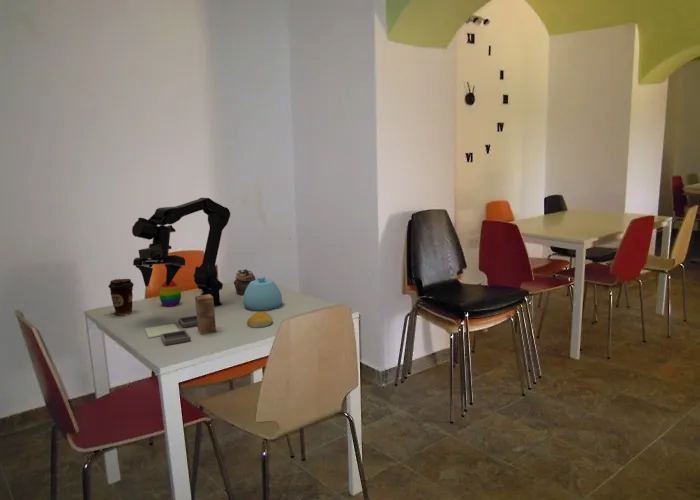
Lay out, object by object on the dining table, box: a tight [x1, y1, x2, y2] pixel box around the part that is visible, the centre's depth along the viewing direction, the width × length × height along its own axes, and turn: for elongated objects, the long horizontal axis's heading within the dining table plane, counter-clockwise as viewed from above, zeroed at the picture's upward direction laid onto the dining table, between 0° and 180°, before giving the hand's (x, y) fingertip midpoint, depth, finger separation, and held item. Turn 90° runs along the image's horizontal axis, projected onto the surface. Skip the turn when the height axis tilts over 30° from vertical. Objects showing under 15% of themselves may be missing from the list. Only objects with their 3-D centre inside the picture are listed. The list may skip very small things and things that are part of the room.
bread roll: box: [246, 311, 273, 329], centre depth 196 cm, size 8×9×4 cm
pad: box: [144, 323, 180, 339], centre depth 191 cm, size 10×10×1 cm
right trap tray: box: [177, 314, 198, 329], centre depth 199 cm, size 8×8×2 cm
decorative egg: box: [158, 280, 182, 307], centre depth 224 cm, size 8×8×10 cm
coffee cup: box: [107, 278, 135, 316], centre depth 213 cm, size 9×8×13 cm
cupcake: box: [233, 268, 257, 296], centre depth 238 cm, size 10×10×10 cm
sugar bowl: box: [242, 276, 283, 311], centre depth 218 cm, size 15×15×12 cm
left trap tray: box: [160, 329, 192, 347], centre depth 182 cm, size 8×8×2 cm
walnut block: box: [194, 294, 217, 335], centre depth 189 cm, size 5×5×12 cm
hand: (156, 285), depth 197 cm, fingers open, 9 cm apart
